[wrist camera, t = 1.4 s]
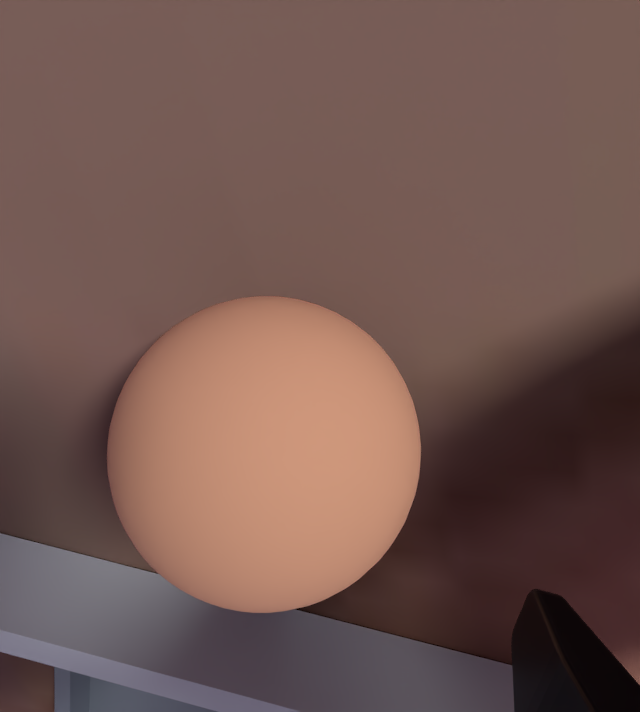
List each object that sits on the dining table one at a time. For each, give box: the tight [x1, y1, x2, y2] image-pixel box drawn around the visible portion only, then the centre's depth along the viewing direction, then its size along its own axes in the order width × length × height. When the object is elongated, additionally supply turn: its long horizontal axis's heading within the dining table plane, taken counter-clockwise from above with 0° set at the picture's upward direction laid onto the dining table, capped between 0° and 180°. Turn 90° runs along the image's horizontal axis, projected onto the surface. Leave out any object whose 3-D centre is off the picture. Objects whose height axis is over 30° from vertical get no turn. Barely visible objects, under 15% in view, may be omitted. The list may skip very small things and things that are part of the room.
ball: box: [107, 296, 421, 613], centre depth 11 cm, size 6×6×6 cm
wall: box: [0, 533, 514, 712], centre depth 16 cm, size 18×1×3 cm, turn 80°
